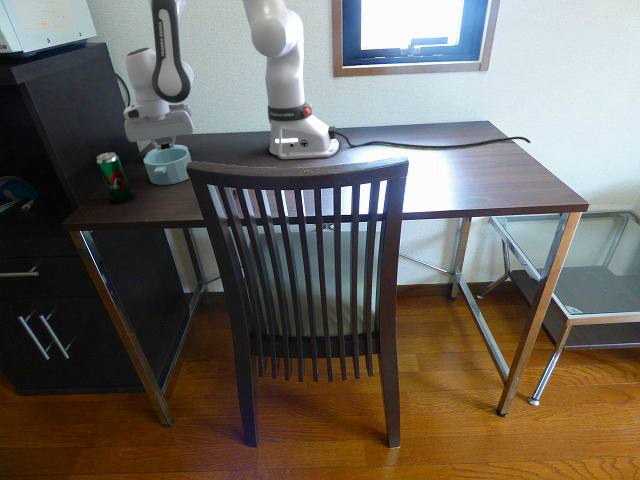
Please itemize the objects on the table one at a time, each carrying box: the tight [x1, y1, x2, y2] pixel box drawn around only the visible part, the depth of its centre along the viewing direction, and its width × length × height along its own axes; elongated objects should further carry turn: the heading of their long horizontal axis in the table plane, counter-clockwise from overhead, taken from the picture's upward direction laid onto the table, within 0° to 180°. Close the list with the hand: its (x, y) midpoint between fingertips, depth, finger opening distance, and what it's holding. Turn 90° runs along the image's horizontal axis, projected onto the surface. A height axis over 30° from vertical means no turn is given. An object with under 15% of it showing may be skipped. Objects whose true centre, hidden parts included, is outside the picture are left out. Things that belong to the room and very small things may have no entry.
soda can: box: [96, 151, 133, 203], centre depth 98 cm, size 5×5×12 cm
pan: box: [142, 147, 193, 186], centre depth 111 cm, size 12×18×6 cm
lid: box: [145, 141, 189, 157], centre depth 126 cm, size 13×13×4 cm
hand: (166, 150), depth 126 cm, fingers closed on lid, 3 cm apart
